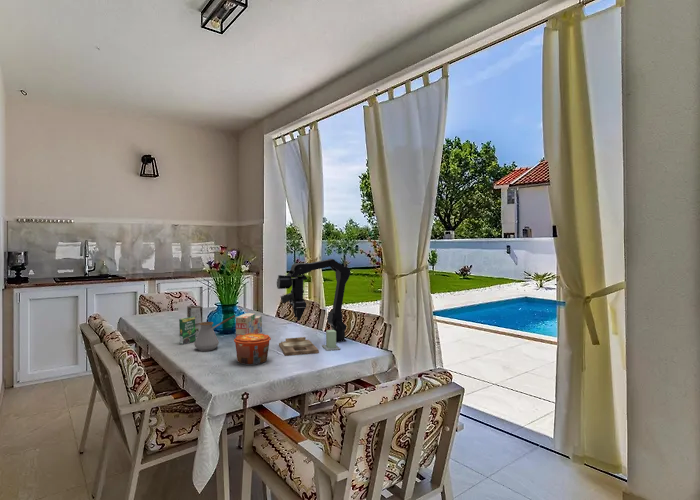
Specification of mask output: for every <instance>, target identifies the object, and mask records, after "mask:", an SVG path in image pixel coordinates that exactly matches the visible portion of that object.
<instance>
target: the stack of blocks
mask: <svg viewBox="0 0 700 500" xmlns="http://www.w3.org/2000/svg"><path fill="white" fill-rule="evenodd" d="M235 318H236V319H235V338H236V337H237V336H239V335H245V334H251V333H254V334H257V333H260V334H261V333H262V331H263V323H262V321H263V320H262V315H256V313H251V312H250V313H249V312H247V313H243V314H241V315H239V316H236V317H235Z"/></svg>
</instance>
